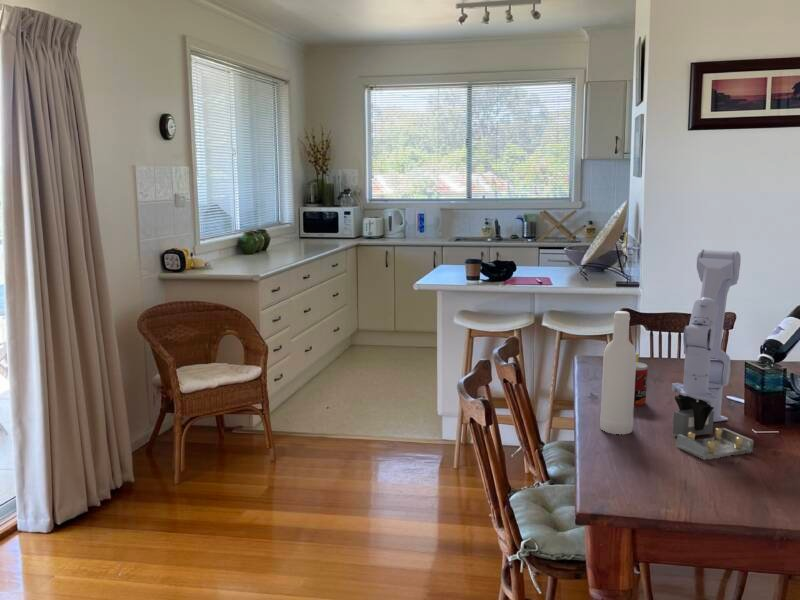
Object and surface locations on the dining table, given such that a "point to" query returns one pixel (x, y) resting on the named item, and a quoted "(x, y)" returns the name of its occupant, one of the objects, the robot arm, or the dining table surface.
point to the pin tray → (715, 444)
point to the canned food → (640, 384)
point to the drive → (690, 423)
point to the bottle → (618, 379)
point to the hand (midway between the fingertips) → (692, 427)
